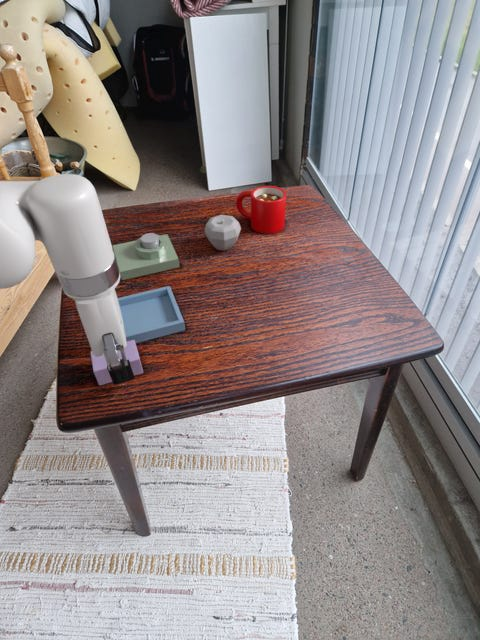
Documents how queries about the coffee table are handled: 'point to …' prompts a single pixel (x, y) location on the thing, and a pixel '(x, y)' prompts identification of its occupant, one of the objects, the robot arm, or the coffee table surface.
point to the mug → (264, 208)
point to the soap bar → (119, 358)
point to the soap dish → (150, 315)
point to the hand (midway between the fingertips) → (119, 358)
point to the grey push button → (149, 241)
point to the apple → (222, 231)
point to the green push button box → (145, 258)
